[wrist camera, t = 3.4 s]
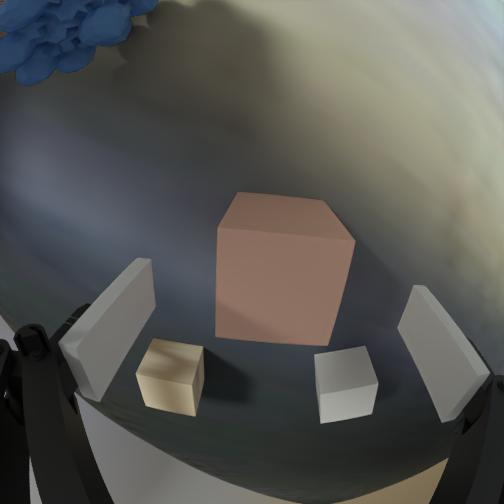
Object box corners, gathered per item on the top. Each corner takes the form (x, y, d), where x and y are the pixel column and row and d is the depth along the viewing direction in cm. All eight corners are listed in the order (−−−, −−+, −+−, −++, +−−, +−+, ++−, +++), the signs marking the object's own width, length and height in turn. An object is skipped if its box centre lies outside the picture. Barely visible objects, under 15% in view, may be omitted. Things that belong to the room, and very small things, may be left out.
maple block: (159, 371, 27) (145, 405, 23) (153, 337, 25) (135, 373, 21) (204, 379, 27) (195, 416, 22) (203, 345, 25) (191, 385, 20)
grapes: (107, 118, 17) (-21, 126, 6) (65, 75, 16) (-47, 68, 5) (217, 6, 14) (163, -96, 3) (161, -28, 12) (90, -103, 1)
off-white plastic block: (315, 385, 27) (320, 423, 22) (314, 353, 25) (320, 394, 20) (361, 377, 26) (371, 413, 21) (364, 344, 24) (378, 383, 19)
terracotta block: (233, 268, 22) (215, 336, 14) (238, 191, 19) (217, 227, 12) (310, 276, 21) (327, 345, 14) (323, 200, 19) (355, 241, 12)
